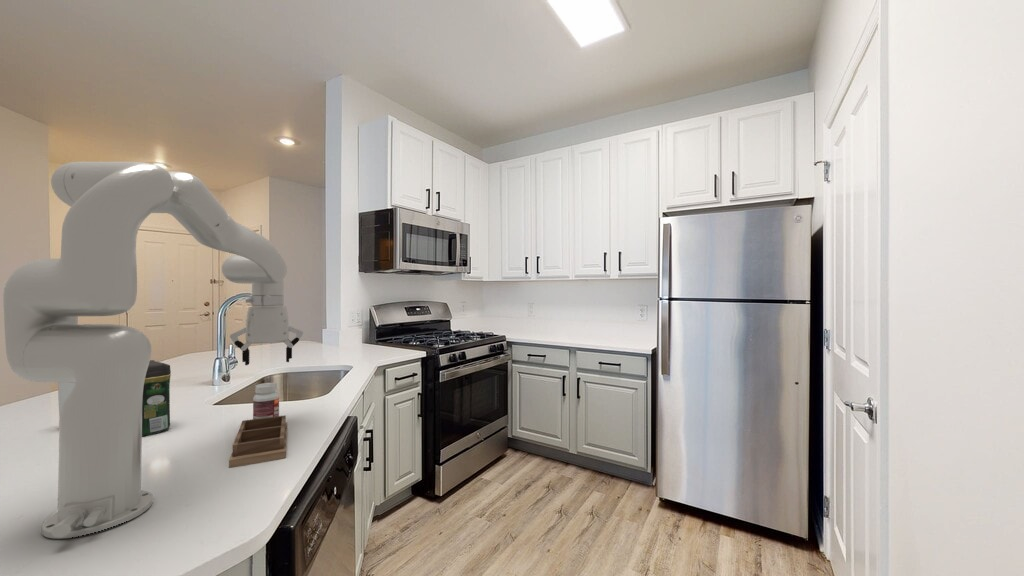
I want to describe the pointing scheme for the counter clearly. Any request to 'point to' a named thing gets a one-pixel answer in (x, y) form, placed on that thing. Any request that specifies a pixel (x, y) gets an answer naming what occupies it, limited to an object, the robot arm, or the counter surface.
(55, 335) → the robot arm
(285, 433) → the caddy
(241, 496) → the counter surface
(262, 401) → the pill bottle
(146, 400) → the coffee jar
